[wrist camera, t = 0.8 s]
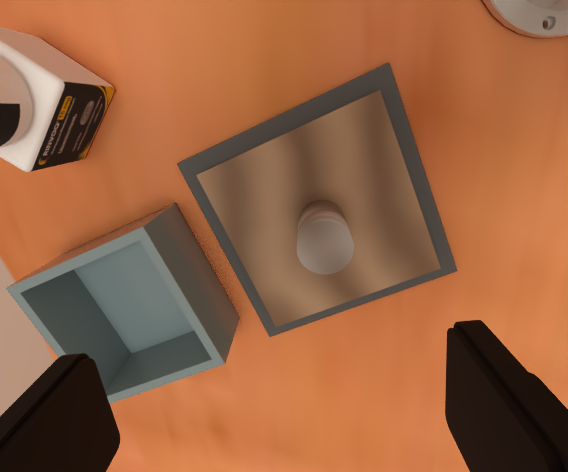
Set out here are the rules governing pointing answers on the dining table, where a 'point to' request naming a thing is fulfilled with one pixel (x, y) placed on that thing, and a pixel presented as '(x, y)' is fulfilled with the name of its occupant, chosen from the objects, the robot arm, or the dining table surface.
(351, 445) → the dining table surface
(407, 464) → the dining table surface
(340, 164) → the walnut lid
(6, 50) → the medicine bottle
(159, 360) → the grey ceramic box
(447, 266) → the rubber mat
